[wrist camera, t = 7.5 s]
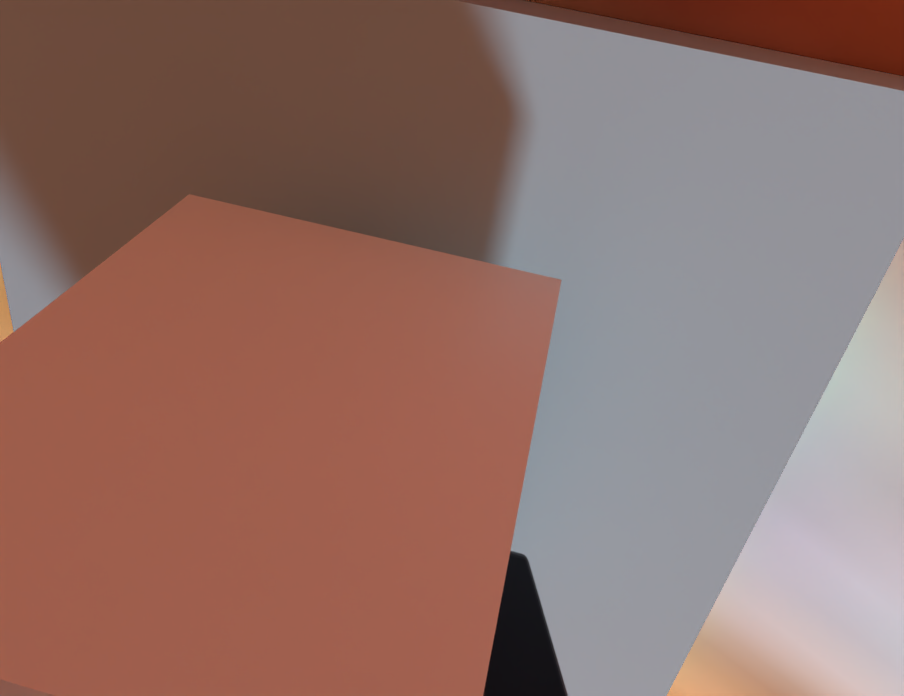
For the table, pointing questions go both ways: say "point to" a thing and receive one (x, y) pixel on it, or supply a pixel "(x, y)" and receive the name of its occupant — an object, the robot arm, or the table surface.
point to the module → (265, 464)
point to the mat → (510, 236)
